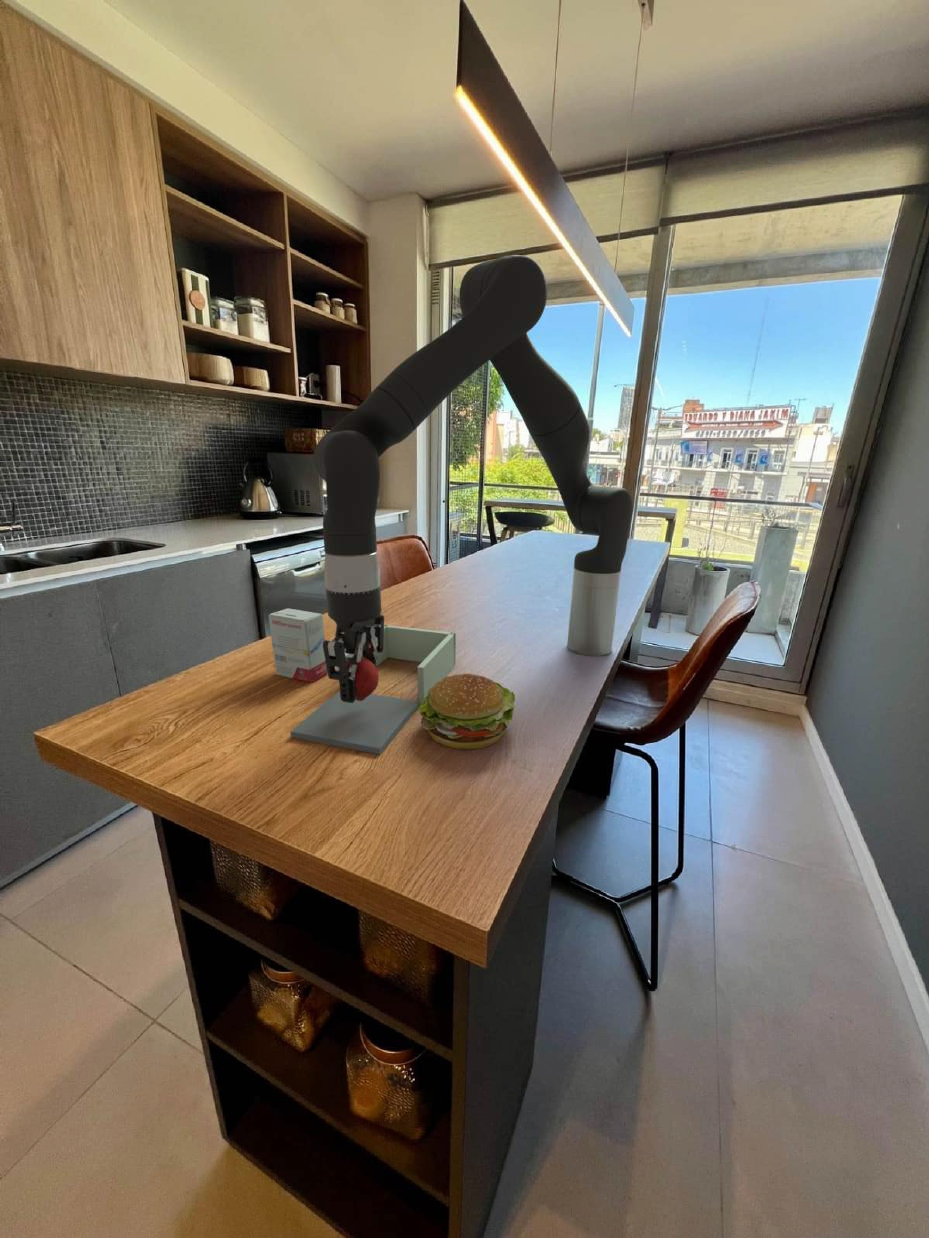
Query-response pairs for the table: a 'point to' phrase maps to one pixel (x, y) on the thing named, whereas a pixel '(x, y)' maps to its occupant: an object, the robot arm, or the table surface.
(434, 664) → the cubby
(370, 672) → the onion
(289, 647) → the ink box
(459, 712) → the food
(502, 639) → the table surface
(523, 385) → the robot arm
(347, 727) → the tile
